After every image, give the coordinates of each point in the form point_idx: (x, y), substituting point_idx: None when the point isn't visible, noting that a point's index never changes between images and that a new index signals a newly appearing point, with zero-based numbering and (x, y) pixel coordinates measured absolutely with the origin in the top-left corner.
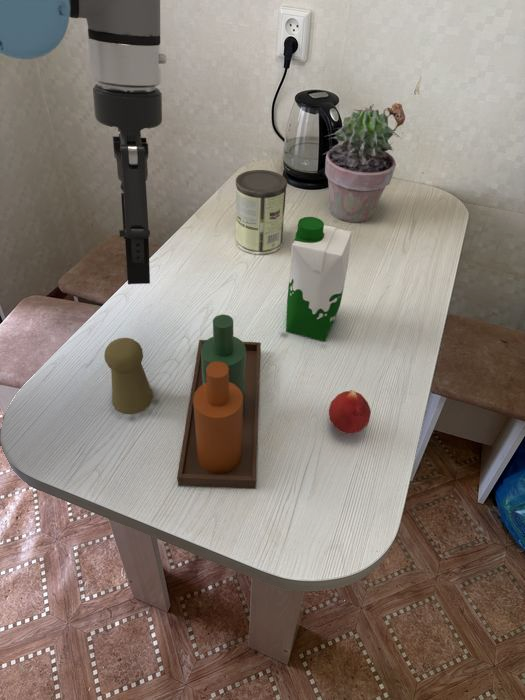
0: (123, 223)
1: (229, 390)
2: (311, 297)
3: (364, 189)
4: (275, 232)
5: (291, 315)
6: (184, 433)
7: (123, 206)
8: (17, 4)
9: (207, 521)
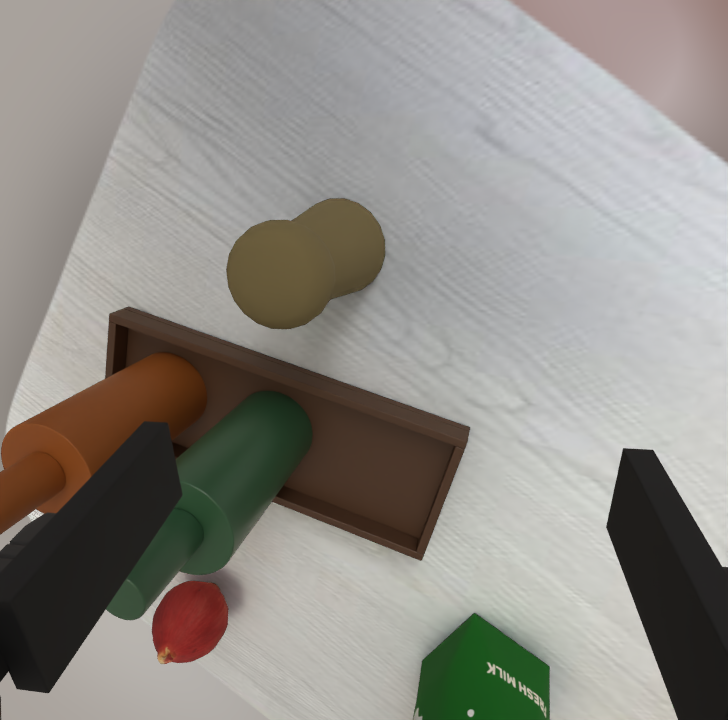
0: (651, 509)
1: (64, 499)
2: None
3: None
4: None
5: (459, 661)
6: (196, 345)
7: (694, 604)
8: None
9: (72, 338)
